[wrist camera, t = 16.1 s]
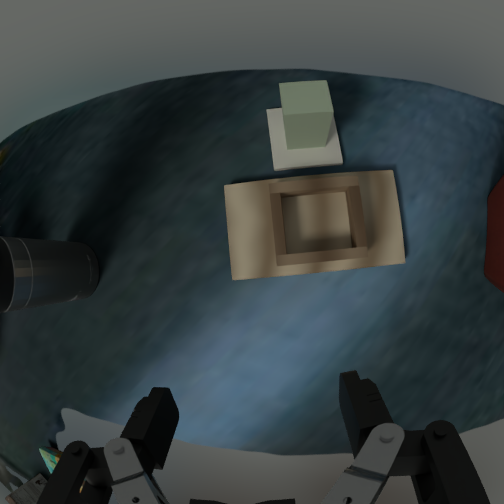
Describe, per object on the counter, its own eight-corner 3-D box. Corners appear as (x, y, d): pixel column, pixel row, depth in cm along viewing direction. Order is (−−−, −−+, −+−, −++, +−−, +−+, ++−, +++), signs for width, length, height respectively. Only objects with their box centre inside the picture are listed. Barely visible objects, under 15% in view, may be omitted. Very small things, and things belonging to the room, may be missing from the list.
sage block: (287, 150, 36) (283, 115, 26) (283, 123, 36) (279, 83, 26) (324, 147, 35) (333, 111, 25) (320, 120, 35) (326, 80, 26)
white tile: (274, 171, 37) (274, 169, 36) (267, 112, 37) (266, 109, 37) (342, 164, 36) (342, 163, 35) (330, 106, 36) (330, 103, 35)
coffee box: (47, 492, 45) (19, 515, 29) (33, 477, 46) (4, 498, 30) (55, 488, 44) (24, 513, 28) (39, 472, 45) (7, 495, 29)
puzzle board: (234, 279, 38) (226, 282, 33) (226, 188, 38) (218, 179, 33) (401, 262, 34) (414, 263, 30) (389, 173, 35) (400, 163, 30)
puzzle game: (69, 466, 38) (99, 520, 37) (81, 456, 42) (108, 510, 42) (36, 449, 39) (66, 504, 39) (48, 441, 44) (75, 496, 43)
